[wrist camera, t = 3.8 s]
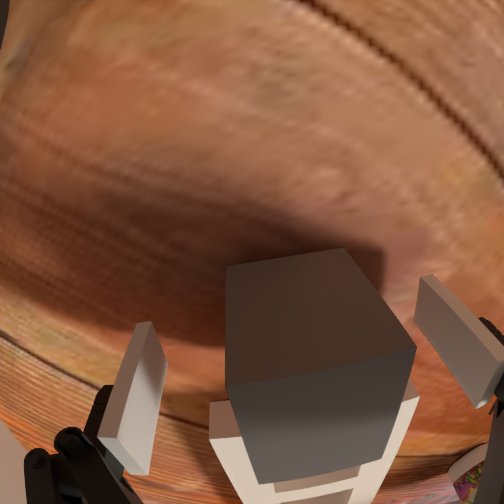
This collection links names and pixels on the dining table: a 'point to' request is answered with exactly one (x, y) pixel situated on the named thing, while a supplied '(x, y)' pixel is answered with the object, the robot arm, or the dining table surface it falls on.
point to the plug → (312, 364)
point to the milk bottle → (468, 473)
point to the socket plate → (311, 488)
